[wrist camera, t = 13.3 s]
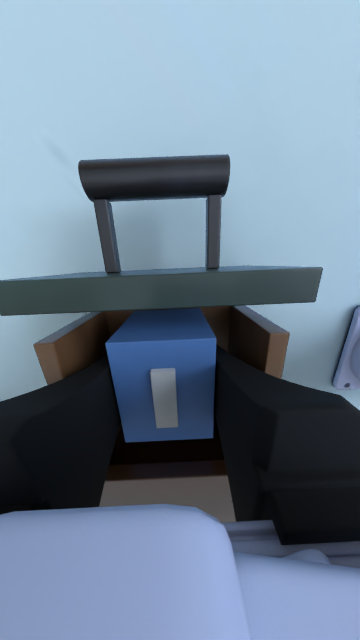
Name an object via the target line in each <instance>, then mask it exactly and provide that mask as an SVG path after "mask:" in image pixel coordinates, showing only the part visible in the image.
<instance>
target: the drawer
mask: <svg viewBox="0 0 360 640" xmlns="http://www.w3.org/2000/svg"><path fill="white" fill-rule="evenodd" d="M78 170H79V176H80V180H81V183H82V186H83V189H84V191H85V193H86V195H87V197H88V198H89V199H90V200H91V201H92V202H94V207H95V213H96V219H97V224H98V230H99V236H100V241H101V247H102V253H103V258H104V264H105V270H106V272H87V273H75V274H64V275H53V276H42V277H31V278H20V279H9V280H0V315H1V316H10V315H33V314H56V313H79V312H90V313H88V314H87V315H85V316H83V317H81V318H79V319H78V320H76V321H74V322H72V323H71V324H69V325H67V326H65V327H63V328H62V329H60V330H58V331H56V332H54V333H53V334H51V335H49V336H47V337H45V338H44V339H42V340H40V341H38V342H37V343H35V344H34V345H33V346H34V349H35V352H36V354H37V357H38V360H39V363H40V366H41V368H42V371H43V374H44V377H45V379H46V382H47V385H50V384H52V383H54V382H57V381H59V380H62V379H64V378H66V377H68V376H70V375H72V374H75V373H77V372H79V371H81V370H82V369H84V368H86V367H88V366H90V365H91V364H93V363H95V362H96V361H98V360H100V359H102V358H103V357H105V356H106V355H107V350H106V345H105V343H106V342H107V341H108V340H109V339H110V338H111V336H112V335H113V334H114V333H115V332H116V331H117V330H118V329H119V328H120V326H121V325H122V324H123V323H124V322H125V321H126V320H127V319H128V318H129V316H130V315H131V314H132V313H133V312H134V311H142V310H165V309H188V308H200V309H201V311H202V313H203V315H204V317H205V318H206V320H207V322H208V324H209V326H210V328H211V330H212V332H213V333H214V335H215V337H216V344H217V345H218V346H220V347H221V348H222V349H224V350H225V351H226V352H228V353H229V354H231V355H232V356H234V357H235V358H237V359H239V360H241V361H242V362H244V363H246V364H248V365H250V366H252V367H254V368H256V369H258V370H260V371H262V372H264V373H267V374H269V375H272V376H275V377H277V378H280V379H281V377H282V372H283V367H284V361H285V356H286V351H287V345H288V340H289V335H290V333H289V332H287V331H286V330H284V329H282V328H281V327H279V326H278V325H276V324H274V323H273V322H271V321H269V320H268V319H266V318H264V317H263V316H261V315H259V314H258V313H256V312H254V311H253V310H251V309H250V308H248V307H246V306H245V305H262V304H285V303H308V302H315V301H316V297H317V292H318V288H319V283H320V279H321V275H322V270H323V268H322V267H286V266H228V267H219V256H220V227H221V198H222V197H224V196H225V194H226V191H227V187H228V183H229V176H230V158H229V155H227V154H226V155H200V156H174V157H148V158H123V159H97V160H81V161H79V164H78ZM188 198H207V200H206V267H205V268H181V269H158V270H134V271H121V268H120V261H119V254H118V248H117V241H116V234H115V227H114V221H113V214H112V207H111V203H110V202H113V201H138V200H163V199H188ZM218 459H224V455H223V450H222V445H221V440H220V435H219V430H218V426H217V422H216V418H215V414H214V426H213V438H206V439H185V440H165V441H144V442H125V438H124V433H123V428H122V423H121V422H120V425H119V428H118V432H117V436H116V439H115V443H114V447H113V451H112V454H111V458H110V462H109V465H115V464H136V463H157V462H177V461H198V460H218Z"/></svg>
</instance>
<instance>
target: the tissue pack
mask: <svg viewBox="0 0 360 640" xmlns="http://www.w3.org/2000/svg"><path fill="white" fill-rule="evenodd" d="M105 345H106V350H107V355H108V360H109V365H110V370H111V375H112V380H113V384H114V389H115V394H116V399H117V404H118V409H119V414H120V418H121V423H122V428H123V433H124V438H125V442H144V441H165V440H185V439H206V438H213V426H214V396H215V366H216V337H215V335H214V333H213V332H212V330H211V328H210V326H209V324H208V322H207V320H206V318H205V317H204V315H203V313H202V311H201V309H200V308H188V309H165V310H142V311H134V312H133V313H132V314H131V315H130V316H129V318H128V319H127V320H126V321H125V322H124V323H123V324H122V325H121V326H120V328H119V329H118V330H117V331H116V332H115V333H114V334H113V335H112V336H111V338H110V339H109V340H108V341H107V342H106V343H105Z"/></svg>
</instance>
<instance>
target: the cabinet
mask: <svg viewBox="0 0 360 640" xmlns="http://www.w3.org/2000/svg"><path fill="white" fill-rule="evenodd" d="M151 504H172V505H181V506H191V507H197V508H198V509H200V510H202V511H204V512H206V513H208V514H210V515H212V516H214V517H215V518H217V519H218V520H219V521H220V522H221V523H223V522H236V519H235V514H234V508H233V502H232V497H231V491H230V486H229V481H228V475H227V470H226V465H225V460H224V459H218V460H198V461H177V462H157V463H136V464H115V465H109V466H108V470H107V475H106V479H105V483H104V488H103V492H102V496H101V501H100V505H99V507H112V506H131V505H151Z"/></svg>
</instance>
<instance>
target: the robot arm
mask: <svg viewBox="0 0 360 640" xmlns="http://www.w3.org/2000/svg"><path fill="white" fill-rule="evenodd" d="M333 386H334V387H335V388H336V389H339V390H341V389H360V306H359V307H357V309H356V310H355V313H354V316H353V320H352V323H351V326H350V329H349V333H348V336H347V339H346V342H345V345H344V349H343V352H342V355H341V358H340V361H339V365H338V368H337V371H336V374H335V378H334V381H333ZM214 414H215V418H216V422H217V426H218V430H219V435H220V440H221V445H222V450H223V455H224V460H225V465H226V470H227V475H228V481H229V486H230V491H231V497H232V502H233V508H234V514H235V519H236V522H223V523H221V522H220V521H219V520H218V519H217V518H215V517H214V516H212V515H210V514H208V513H206V512H204V511H202V510H200V509H198V508H197V507H191V506H181V505H172V504H151V505H131V506H112V507H99V505H100V501H101V496H102V492H103V488H104V483H105V479H106V475H107V470H108V466H109V462H110V458H111V454H112V451H113V447H114V443H115V439H116V436H117V432H118V428H119V425H120V422H121V418H120V414H119V409H118V404H117V399H116V394H115V389H114V384H113V380H112V375H111V370H110V365H109V360H108V355H106V356H105V357H103V358H102V359H100V360H98V361H96V362H95V363H93V364H91V365H90V366H88V367H86V368H84V369H82V370H81V371H79V372H77V373H75V374H72V375H70V376H68V377H66V378H64V379H62V380H59V381H57V382H54V383H52V384H50V385H47V386H45V387H42V388H40V389H37V390H34V391H32V392H29V393H26V394H23V395H20V396H17V397H14V398H11V399H8V400H5V401H1V402H0V640H360V411H359V410H358V409H357V408H356V407H354V406H353V405H352V404H351V403H349V402H348V401H347V400H346V399H345V398H343V397H342V396H341V395H337V394H333V393H329V392H325V391H321V390H317V389H312V388H308V387H305V386H302V385H298V384H295V383H292V382H289V381H286V380H283V379H280V378H277V377H275V376H272V375H269V374H267V373H264V372H262V371H260V370H258V369H256V368H254V367H252V366H250V365H248V364H246V363H244V362H242V361H241V360H239V359H237V358H235V357H234V356H232V355H231V354H229V353H228V352H226V351H225V350H224V349H222V348H221V347H220V346H218V345H217V344H216V366H215V396H214Z"/></svg>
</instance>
